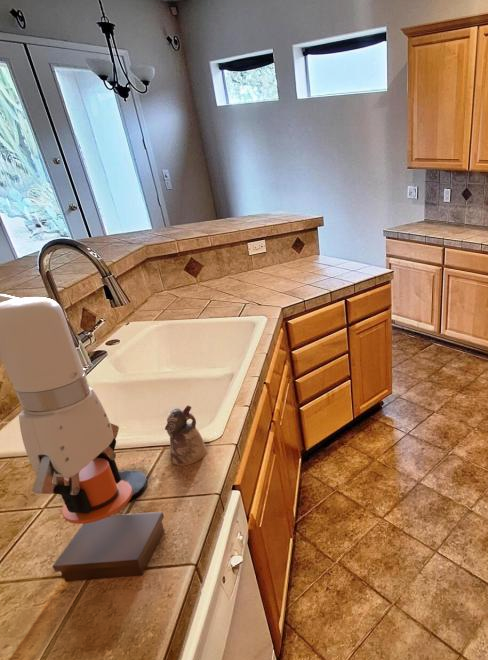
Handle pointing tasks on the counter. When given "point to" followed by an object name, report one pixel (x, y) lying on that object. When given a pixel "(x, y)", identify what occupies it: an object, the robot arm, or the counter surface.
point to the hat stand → (134, 481)
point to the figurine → (184, 437)
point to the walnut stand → (111, 547)
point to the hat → (99, 493)
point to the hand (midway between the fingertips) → (96, 495)
